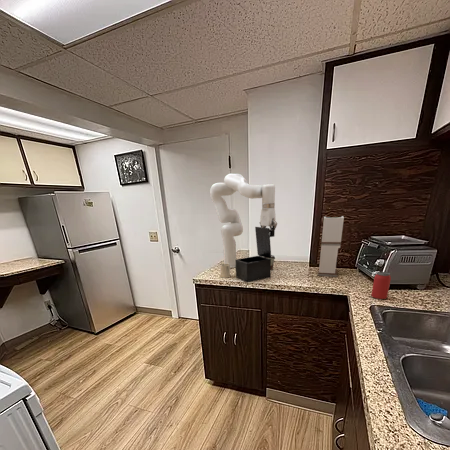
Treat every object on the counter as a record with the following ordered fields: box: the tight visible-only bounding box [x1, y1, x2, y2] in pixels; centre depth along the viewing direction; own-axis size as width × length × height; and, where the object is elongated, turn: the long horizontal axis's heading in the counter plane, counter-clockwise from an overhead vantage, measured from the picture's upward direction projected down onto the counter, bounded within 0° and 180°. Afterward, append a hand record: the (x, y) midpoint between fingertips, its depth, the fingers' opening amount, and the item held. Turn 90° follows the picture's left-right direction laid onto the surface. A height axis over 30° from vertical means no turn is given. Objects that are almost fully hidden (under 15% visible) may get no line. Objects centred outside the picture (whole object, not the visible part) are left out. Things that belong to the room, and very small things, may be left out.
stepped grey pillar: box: [318, 215, 345, 278], centre depth 153 cm, size 11×11×35 cm
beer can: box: [371, 271, 392, 300], centre depth 118 cm, size 7×7×12 cm
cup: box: [219, 263, 231, 279], centre depth 165 cm, size 6×6×8 cm
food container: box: [261, 254, 276, 271], centre depth 176 cm, size 12×6×10 cm, turn 84°
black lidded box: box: [235, 255, 272, 283], centre depth 159 cm, size 18×14×12 cm
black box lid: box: [254, 226, 272, 258], centre depth 157 cm, size 19×14×5 cm
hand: (267, 235), depth 157 cm, fingers open, 7 cm apart
